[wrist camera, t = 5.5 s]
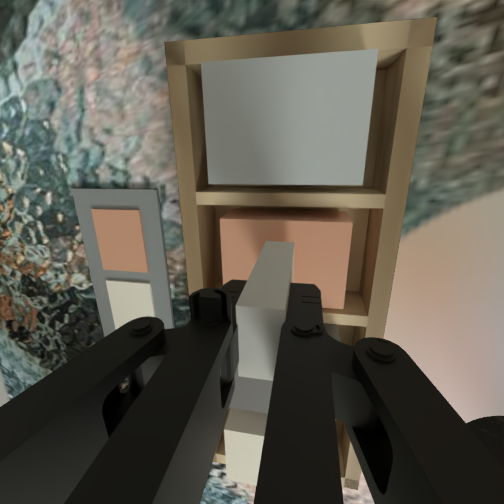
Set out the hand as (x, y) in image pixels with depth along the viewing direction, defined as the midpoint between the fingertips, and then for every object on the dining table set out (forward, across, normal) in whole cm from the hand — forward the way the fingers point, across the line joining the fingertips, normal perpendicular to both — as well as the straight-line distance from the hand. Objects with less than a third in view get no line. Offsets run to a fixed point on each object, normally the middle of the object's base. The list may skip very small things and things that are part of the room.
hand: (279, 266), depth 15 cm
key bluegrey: (+3, 0, +7) cm, 7 cm away
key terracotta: (+4, 0, 0) cm, 4 cm away
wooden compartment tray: (+5, 0, -4) cm, 7 cm away
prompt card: (+5, -13, -4) cm, 14 cm away
